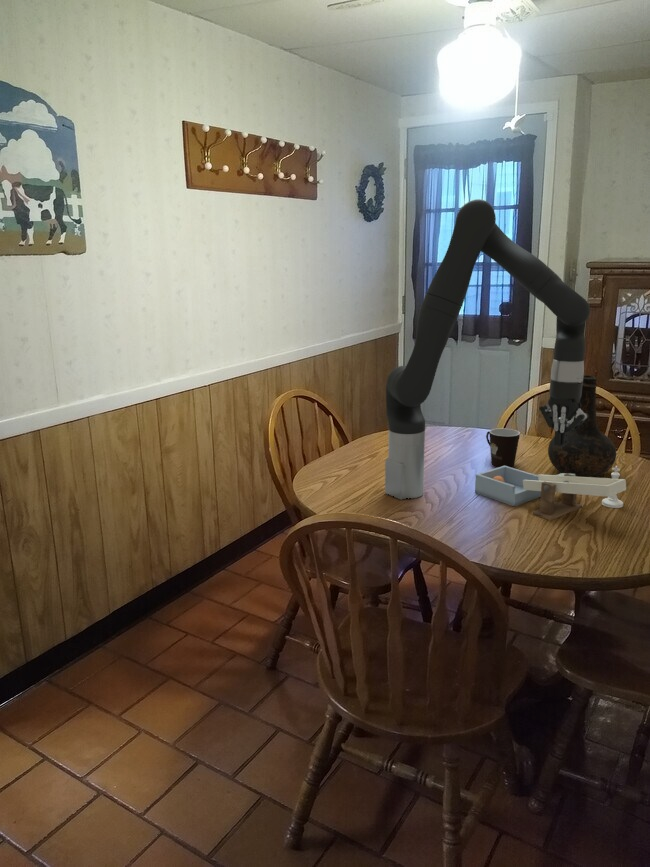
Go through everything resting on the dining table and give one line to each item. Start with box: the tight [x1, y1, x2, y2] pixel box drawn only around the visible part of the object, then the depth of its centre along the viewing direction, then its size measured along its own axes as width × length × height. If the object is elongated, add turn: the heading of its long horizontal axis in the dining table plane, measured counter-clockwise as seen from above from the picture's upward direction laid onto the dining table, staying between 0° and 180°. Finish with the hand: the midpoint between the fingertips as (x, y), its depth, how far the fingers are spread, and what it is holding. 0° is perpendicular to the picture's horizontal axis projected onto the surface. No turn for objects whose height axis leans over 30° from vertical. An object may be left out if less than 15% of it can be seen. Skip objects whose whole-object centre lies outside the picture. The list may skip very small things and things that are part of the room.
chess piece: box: [601, 465, 624, 509], centre depth 163 cm, size 5×5×10 cm
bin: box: [474, 466, 541, 507], centre depth 171 cm, size 12×13×5 cm
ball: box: [493, 476, 504, 482], centre depth 174 cm, size 3×3×3 cm
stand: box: [532, 474, 583, 521], centre depth 160 cm, size 5×13×8 cm, turn 127°
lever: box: [523, 473, 627, 498], centre depth 159 cm, size 23×16×2 cm
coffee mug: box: [485, 427, 521, 468], centre depth 195 cm, size 12×9×10 cm
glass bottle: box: [547, 374, 617, 478], centre depth 183 cm, size 18×18×28 cm
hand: (560, 445), depth 167 cm, fingers closed
